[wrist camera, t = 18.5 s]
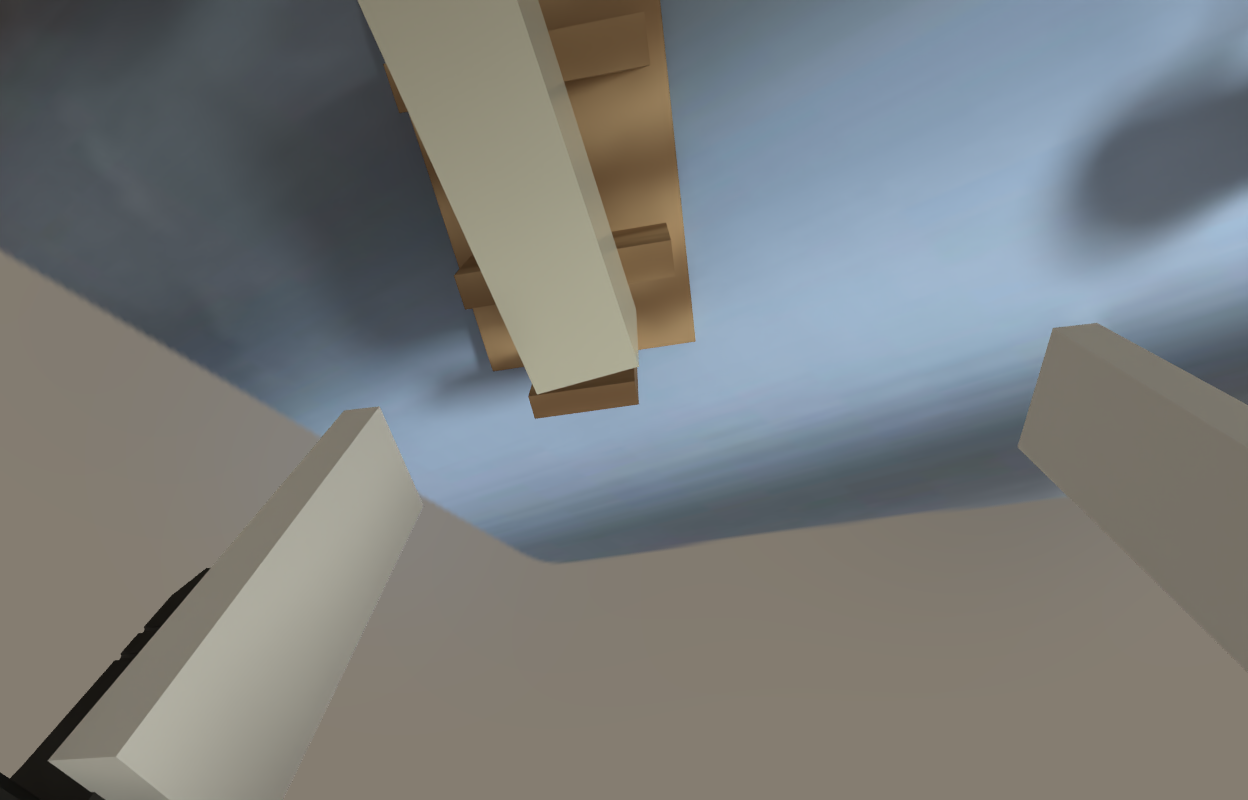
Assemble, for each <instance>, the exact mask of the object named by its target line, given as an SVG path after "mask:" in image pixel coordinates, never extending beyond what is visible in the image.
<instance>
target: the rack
mask: <svg viewBox="0 0 1248 800" xmlns="http://www.w3.org/2000/svg"><path fill="white" fill-rule="evenodd" d="M538 1H539V4H540V8H541V11H542V14H543V17H544V20H545V23H546V27H547V30H548V33H549V36H550V39H551V42H552V46H553V49H554V52H555V55H556V58H557V61H558V64H559V68H560V71H561V74H562V77H563V80H564V83H565V87H566V90H567V93H568V96H569V99H570V102H571V106H572V109H573V112H574V115H575V118H576V121H577V124H578V128H579V131H580V134H581V137H582V140H583V143H584V147H585V150H586V153H587V156H588V159H589V162H590V166H591V169H592V172H593V175H594V178H595V181H596V185H597V188H598V191H599V194H600V197H601V200H602V203H603V207H604V210H605V213H606V216H607V219H608V222H609V226H610V229H611V232H612V235H613V238H614V241H615V245H616V248H617V251H618V254H619V257H620V260H621V264H622V267H623V270H624V273H625V276H626V279H627V282H628V286H629V289H630V292H631V295H632V298H633V301H634V305H635V308H636V317H637V337H638V350H641V349H647V348H654V347H661V346H668V345H675V344H681V343H688V342H695V332H694V322H693V313H692V303H691V293H690V284H689V274H688V265H687V255H686V246H685V236H684V226H683V217H682V207H681V198H680V188H679V179H678V169H677V159H676V150H675V140H674V131H673V121H672V111H671V102H670V92H669V83H668V73H667V64H666V54H665V44H664V35H663V25H662V16H661V6H660V0H538ZM383 65H384V68H385V71H386V74H387V77H388V80H389V83H390V86H391V89H392V92H393V95H394V98H395V101H396V104H397V107H398V110H399V113H403V112H408V110H407V108H406V106H405V104H404V101H403V99H402V97H401V95H400V93H399V90H398V88H397V86H396V84H395V82H394V79H393V77H392V75H391V73H390V71H389V69H388V66H387V64H386V63H385V64H383ZM409 116H410V115H409ZM410 119H411V117H410ZM411 122H412V125H413V128H414V131H415V134H416V137H417V140H418V143H419V146H420V149H421V152H422V155H423V158H424V161H425V165H426V168H427V171H428V174H429V177H430V180H431V183H432V186H433V189H434V192H435V195H436V198H437V201H438V204H439V207H440V210H441V214H442V217H443V220H444V223H445V226H446V229H447V232H448V235H449V238H450V241H451V244H452V247H453V250H454V253H455V256H456V259H457V263H458V266H459V270H458V271H457V273H456V274H455V275H454V278H455V281H456V284H457V287H458V290H459V293H460V296H461V299H462V302H463V305H464V307H465V310H466V309H472V308H473V312H474V315H475V318H476V321H477V324H478V327H479V330H480V333H481V336H482V339H483V342H484V345H485V348H486V351H487V354H488V357H489V361H490V364H491V367H492V370H493V371H498V370H505V369H512V368H519V367H524V365H523V362H522V360H521V358H520V356H519V354H518V351H517V349H516V347H515V345H514V343H513V341H512V338H511V336H510V334H509V332H508V330H507V327H506V325H505V323H504V321H503V319H502V316H501V314H500V312H499V310H498V308H497V305H496V303H495V301H494V299H493V297H492V294H491V292H490V290H489V288H488V286H487V283H486V281H485V279H484V277H483V275H482V273H481V270H480V268H479V266H478V264H477V262H476V259H475V257H474V255H473V253H472V251H471V248H470V246H469V244H468V242H467V240H466V237H465V235H464V233H463V231H462V229H461V226H460V224H459V222H458V220H457V218H456V215H455V213H454V211H453V209H452V207H451V205H450V202H449V200H448V198H447V196H446V194H445V191H444V189H443V187H442V185H441V183H440V180H439V178H438V176H437V174H436V172H435V169H434V167H433V165H432V163H431V161H430V158H429V156H428V154H427V152H426V150H425V147H424V145H423V143H422V141H421V139H420V137H419V134H418V132H417V130H416V128H415V126H414V123H413V121H412V119H411ZM528 397H529V400H530V404H531V407H532V410H533V414H534V417H535V419H536V418H544V417H551V416H558V415H565V414H572V413H580V412H587V411H594V410H601V409H608V408H615V407H623V406H630V405H637V404H639V400H638V377H637V367H635V368H632V369H628V370H625V371H621V372H617V373H614V374H610V375H606V376H603V377H599V378H595V379H592V380H588V381H584V382H581V383H577V384H574V385H570V386H566V387H563V388H559V389H555V390H552V391H548V392H544V393H541V394H537V393H536V391H535V389H534V387H533V384H532V386H531V389H530V393H529V396H528Z"/></svg>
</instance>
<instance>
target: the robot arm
mask: <svg viewBox="0 0 1248 800" xmlns="http://www.w3.org/2000/svg"><path fill="white" fill-rule="evenodd" d="M1018 448H1019V449H1020V450H1021V451H1022V452H1023V453H1024V454H1025V455H1026V456H1027V457H1028V458H1029V459H1030V460H1031V461H1032V462H1033V463H1034V464H1035V465H1036V466H1037V467H1038V468H1039V469H1040V470H1041V471H1042V472H1043V473H1044V474H1046V475H1047V476H1048V477H1049V478H1050V479H1051V480H1052V481H1053V482H1054V483H1055V484H1056V485H1057V486H1058V487H1059V488H1060V489H1061V490H1062V491H1063V492H1064V493H1065V494H1066V495H1067V496H1068V497H1069V498H1070V499H1071V500H1072V501H1073V502H1074V503H1075V504H1076V505H1077V506H1078V507H1079V508H1080V509H1081V510H1082V511H1083V512H1084V513H1085V514H1086V515H1087V516H1088V517H1089V518H1090V519H1092V521H1094V522H1095V524H1096V525H1098V526H1099V527H1100V528H1101V529H1102V530H1103V531H1104V532H1105V533H1106V534H1107V535H1108V536H1109V537H1110V538H1111V539H1112V540H1113V541H1114V542H1115V543H1116V544H1117V545H1118V546H1119V547H1120V548H1121V549H1122V550H1123V551H1124V552H1125V553H1126V554H1127V555H1128V556H1129V557H1130V558H1131V559H1132V560H1133V561H1134V562H1135V563H1136V564H1137V565H1138V566H1139V567H1140V568H1141V569H1142V570H1144V572H1145V573H1146V574H1148V576H1149V577H1151V578H1152V579H1153V580H1154V581H1155V582H1156V583H1157V584H1158V585H1159V586H1160V587H1161V588H1162V589H1163V590H1164V591H1165V592H1166V593H1167V594H1168V595H1169V596H1170V597H1171V598H1172V599H1173V600H1174V601H1175V602H1176V603H1177V604H1178V605H1179V606H1180V607H1181V608H1182V609H1183V610H1184V611H1185V612H1186V613H1187V614H1188V615H1189V616H1190V617H1191V618H1192V619H1193V620H1194V621H1195V622H1197V624H1198V625H1199V626H1200V627H1202V628H1203V629H1204V630H1205V631H1206V632H1207V633H1208V634H1209V635H1210V636H1211V637H1212V638H1213V639H1214V640H1215V641H1216V642H1217V643H1218V644H1219V645H1220V646H1221V647H1222V648H1223V649H1224V650H1225V651H1226V652H1227V653H1228V654H1229V655H1230V656H1231V657H1232V658H1233V659H1234V660H1235V661H1236V662H1237V663H1238V664H1239V665H1240V666H1241V667H1242V668H1243V669H1244V670H1245V671H1246V672H1247V673H1248V405H1246V404H1244V403H1242V402H1241V401H1239V400H1237V399H1235V398H1233V397H1231V396H1230V395H1228V394H1226V393H1224V392H1222V391H1220V390H1219V389H1217V388H1215V387H1213V386H1211V385H1209V384H1208V383H1206V382H1204V381H1202V380H1200V379H1198V378H1197V377H1195V376H1193V375H1191V374H1189V373H1187V372H1186V371H1184V370H1182V369H1180V368H1178V367H1177V366H1175V365H1173V364H1171V363H1169V362H1167V361H1166V360H1164V359H1162V358H1160V357H1158V356H1156V355H1155V354H1153V353H1151V352H1149V351H1147V350H1145V349H1144V348H1142V347H1140V346H1138V345H1136V344H1134V343H1133V342H1131V341H1129V340H1127V339H1125V338H1123V337H1122V336H1120V335H1118V334H1116V333H1114V332H1112V331H1111V330H1109V329H1107V328H1105V327H1103V326H1101V325H1100V324H1098V323H1093V324H1084V325H1076V326H1067V327H1059V328H1053V330H1052V333H1051V336H1050V340H1049V343H1048V346H1047V350H1046V353H1045V357H1044V360H1043V363H1042V367H1041V370H1040V373H1039V377H1038V380H1037V383H1036V387H1035V390H1034V394H1033V397H1032V400H1031V404H1030V407H1029V410H1028V414H1027V417H1026V421H1025V424H1024V427H1023V431H1022V434H1021V437H1020V441H1019V444H1018ZM422 509H423V503H422V501H421V499H420V497H419V494H418V492H417V490H416V488H415V485H414V483H413V481H412V479H411V476H410V474H409V472H408V470H407V467H406V465H405V463H404V461H403V458H402V456H401V454H400V452H399V449H398V447H397V445H396V443H395V440H394V438H393V436H392V434H391V431H390V429H389V427H388V425H387V423H386V420H385V418H384V416H383V414H382V411H381V409H380V407H371V408H362V409H354V410H345V411H343V413H342V414H341V415H340V416H339V417H338V419H337V420H336V421H335V422H334V423H333V424H332V426H331V427H330V428H329V429H328V430H327V432H326V433H325V434H324V435H323V436H322V437H321V439H320V440H319V441H318V442H317V443H316V445H315V446H314V447H313V448H312V449H311V451H310V452H309V453H308V454H307V455H306V456H305V458H304V459H303V460H302V461H301V462H300V463H299V465H298V466H297V467H296V468H295V469H294V471H293V472H292V473H291V474H290V475H289V477H288V478H287V479H286V480H285V481H284V482H283V483H282V485H281V486H280V487H279V488H278V489H277V491H276V492H275V493H274V494H273V495H272V497H271V498H270V499H269V500H268V501H267V502H266V504H265V505H264V506H263V507H262V508H261V509H260V511H259V512H258V513H257V514H256V515H255V517H254V518H253V519H252V520H251V521H250V522H249V524H248V525H247V526H246V527H245V528H244V530H243V531H242V532H241V533H240V534H239V536H238V537H237V538H236V539H235V540H234V542H232V544H231V545H230V546H229V547H228V548H227V550H226V551H225V552H224V553H223V554H222V555H221V557H220V558H219V559H218V560H217V561H216V563H215V564H214V565H213V566H212V567H211V568H206V569H205V570H203V571H202V572H201V573H200V574H198V575H197V576H196V577H195V578H193V579H192V580H191V581H190V582H188V583H187V584H186V585H184V586H183V587H182V588H181V589H180V590H178V591H177V592H176V593H174V594H173V595H172V596H171V597H170V598H169V599H168V600H167V601H166V602H165V604H164V605H163V606H162V607H161V608H160V609H159V611H158V612H157V613H156V614H155V615H154V616H153V617H152V618H151V620H150V621H149V622H148V623H147V624H146V625H145V626H144V628H145V630H144V632H143V633H139V634H137V636H136V637H135V638H134V639H133V640H132V641H131V642H130V644H129V645H128V646H127V647H126V648H125V649H124V651H123V652H122V653H121V658H120V660H115V661H114V662H113V663H112V664H111V665H110V666H109V668H108V669H107V670H106V671H105V672H104V673H103V674H102V675H101V677H100V678H99V679H98V680H97V681H96V682H95V683H94V685H93V686H92V687H91V688H90V689H89V690H88V691H87V693H86V694H85V695H84V696H83V697H82V698H81V699H80V701H79V702H78V703H77V704H76V705H75V707H73V708H72V710H71V711H70V712H69V713H68V714H67V715H66V716H65V718H64V719H63V720H62V721H61V722H60V723H59V724H58V726H57V727H56V728H55V729H54V730H53V731H52V732H51V734H50V735H49V736H48V737H47V738H46V739H45V740H44V742H43V743H42V744H41V745H40V746H39V747H38V748H37V750H36V751H35V752H34V753H33V754H32V755H31V756H30V757H29V759H28V760H27V761H26V762H25V763H24V764H23V765H22V767H21V768H20V769H19V770H18V771H17V772H16V773H15V774H14V775H13V776H12V777H11V778H10V779H9V778H8V777H6V776H5V775H3V774H2V773H0V800H283V798H284V796H285V794H286V792H287V790H288V788H289V786H290V784H291V782H292V779H293V778H294V775H295V773H296V771H297V769H298V767H299V765H300V763H301V761H302V759H303V757H304V754H305V752H306V750H307V748H308V746H309V744H310V742H311V740H312V738H313V736H314V734H315V731H316V730H317V727H318V725H319V723H320V721H321V719H322V717H323V715H324V713H325V711H326V709H327V707H328V704H329V702H330V700H331V698H332V696H333V694H334V692H335V690H336V688H337V686H338V684H339V682H340V679H341V677H342V675H343V673H344V671H345V669H346V667H347V665H348V663H349V661H350V659H351V656H352V654H353V652H354V650H355V648H356V646H357V644H358V642H359V640H360V638H361V636H362V634H363V632H364V629H365V627H366V625H367V623H368V621H369V619H370V617H371V615H372V613H373V611H374V609H375V606H376V604H377V602H378V600H379V598H380V596H381V594H382V592H383V590H384V588H385V586H386V584H387V581H388V579H389V577H390V575H391V573H392V571H393V569H394V567H395V565H396V563H397V561H398V558H399V556H400V554H401V552H402V550H403V548H404V546H405V544H406V542H407V540H408V538H409V536H410V533H411V531H412V529H413V527H414V525H415V523H416V521H417V519H418V517H419V515H420V513H421V511H422Z"/></svg>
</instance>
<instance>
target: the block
mask: <svg viewBox="0 0 1248 800" xmlns="http://www.w3.org/2000/svg"><path fill="white" fill-rule="evenodd" d="M357 1H358V3H359V5H360V7H361V9H362V11H363V14H364V16H365V18H366V20H367V22H368V25H369V27H370V29H371V31H372V33H373V36H374V38H375V40H376V42H377V44H378V47H379V49H380V51H381V53H382V55H383V58H384V60H385V62H386V64H387V66H388V69H389V71H390V73H391V75H392V77H393V79H394V82H395V84H396V86H397V88H398V90H399V93H400V95H401V97H402V99H403V101H404V104H405V106H406V108H407V110H408V112H409V115H410V117H411V119H412V121H413V123H414V126H415V128H416V130H417V132H418V134H419V137H420V139H421V141H422V143H423V145H424V147H425V150H426V152H427V154H428V156H429V158H430V161H431V163H432V165H433V167H434V169H435V172H436V174H437V176H438V178H439V180H440V183H441V185H442V187H443V189H444V191H445V194H446V196H447V198H448V200H449V202H450V205H451V207H452V209H453V211H454V213H455V215H456V218H457V220H458V222H459V224H460V226H461V229H462V231H463V233H464V235H465V237H466V240H467V242H468V244H469V246H470V248H471V251H472V253H473V255H474V257H475V259H476V262H477V264H478V266H479V268H480V270H481V273H482V275H483V277H484V279H485V281H486V283H487V286H488V288H489V290H490V292H491V294H492V297H493V299H494V301H495V303H496V305H497V308H498V310H499V312H500V314H501V316H502V319H503V321H504V323H505V325H506V327H507V330H508V332H509V334H510V336H511V338H512V341H513V343H514V345H515V347H516V349H517V351H518V354H519V356H520V358H521V360H522V362H523V365H524V367H525V369H526V371H527V373H528V376H529V378H530V380H531V382H532V384H533V387H534V389H535V391H536V393H537V394H541V393H544V392H548V391H552V390H555V389H559V388H563V387H566V386H570V385H574V384H577V383H581V382H584V381H588V380H592V379H595V378H599V377H603V376H606V375H610V374H614V373H617V372H621V371H625V370H628V369H632V368H635V367H639V357H638V337H637V317H636V308H635V305H634V301H633V298H632V295H631V292H630V289H629V286H628V282H627V279H626V276H625V273H624V270H623V267H622V264H621V260H620V257H619V254H618V251H617V248H616V245H615V241H614V238H613V235H612V232H611V229H610V226H609V222H608V219H607V216H606V213H605V210H604V207H603V203H602V200H601V197H600V194H599V191H598V188H597V185H596V181H595V178H594V175H593V172H592V169H591V166H590V162H589V159H588V156H587V153H586V150H585V147H584V143H583V140H582V137H581V134H580V131H579V128H578V124H577V121H576V118H575V115H574V112H573V109H572V106H571V102H570V99H569V96H568V93H567V90H566V87H565V83H564V80H563V77H562V74H561V71H560V68H559V64H558V61H557V58H556V55H555V52H554V49H553V46H552V42H551V39H550V36H549V33H548V30H547V27H546V23H545V20H544V17H543V14H542V11H541V8H540V4H539V1H538V0H357Z"/></svg>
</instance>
